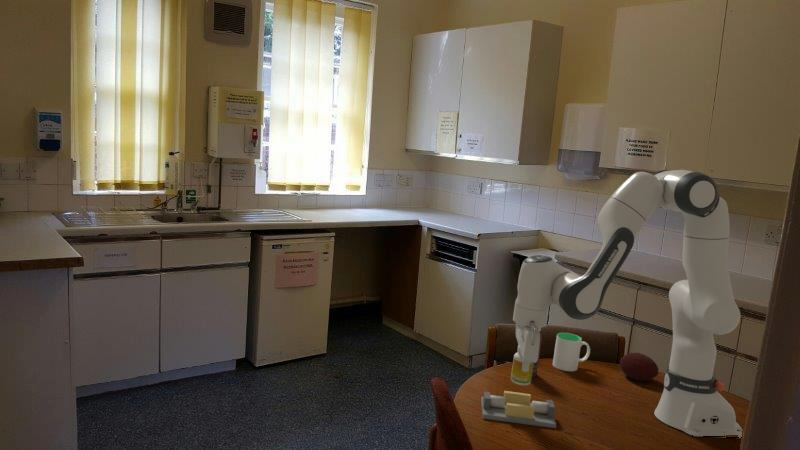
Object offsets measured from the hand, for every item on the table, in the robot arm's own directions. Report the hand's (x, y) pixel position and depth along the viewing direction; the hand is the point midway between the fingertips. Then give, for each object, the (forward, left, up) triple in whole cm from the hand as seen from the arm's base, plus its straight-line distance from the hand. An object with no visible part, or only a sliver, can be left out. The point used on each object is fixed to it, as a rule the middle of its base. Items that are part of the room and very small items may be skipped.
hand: (523, 365), depth 163 cm
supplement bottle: (0, 0, -5) cm, 5 cm away
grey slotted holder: (0, 0, -14) cm, 14 cm away
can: (-6, -30, -14) cm, 34 cm away
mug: (-22, -42, -14) cm, 49 cm away
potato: (-43, -39, -14) cm, 60 cm away
